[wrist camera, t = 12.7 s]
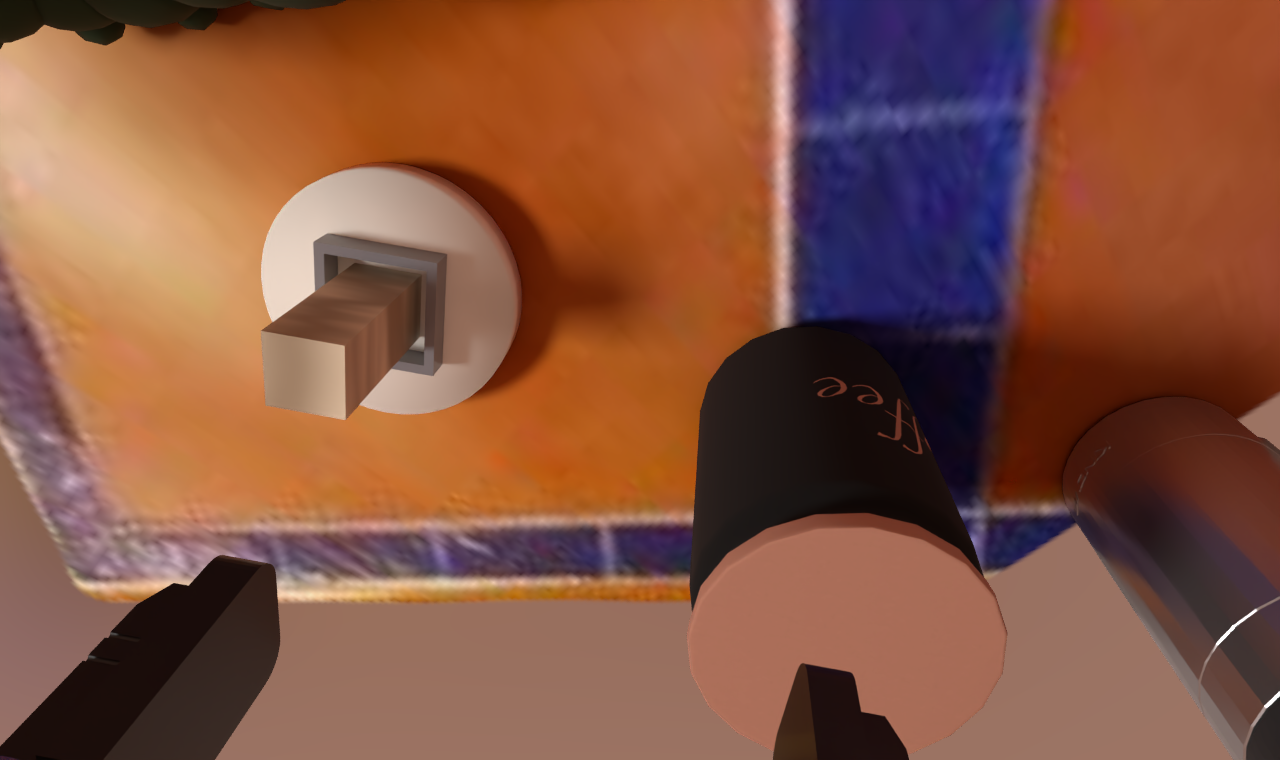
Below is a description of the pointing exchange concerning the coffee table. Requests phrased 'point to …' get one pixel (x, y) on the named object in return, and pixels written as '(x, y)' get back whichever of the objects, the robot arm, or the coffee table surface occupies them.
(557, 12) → the coffee table surface
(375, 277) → the wood grain block
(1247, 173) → the coffee table surface
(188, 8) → the toy figurine
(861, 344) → the coffee jar
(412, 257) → the candle dish
